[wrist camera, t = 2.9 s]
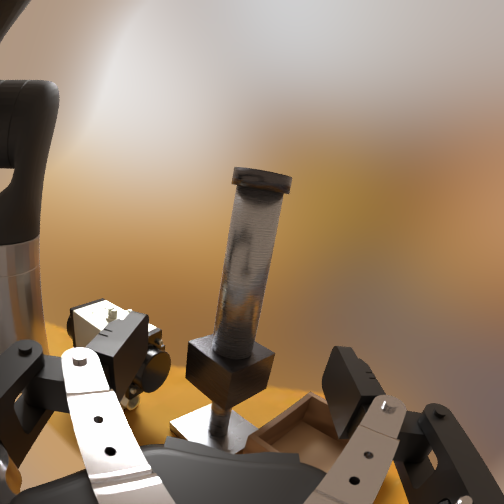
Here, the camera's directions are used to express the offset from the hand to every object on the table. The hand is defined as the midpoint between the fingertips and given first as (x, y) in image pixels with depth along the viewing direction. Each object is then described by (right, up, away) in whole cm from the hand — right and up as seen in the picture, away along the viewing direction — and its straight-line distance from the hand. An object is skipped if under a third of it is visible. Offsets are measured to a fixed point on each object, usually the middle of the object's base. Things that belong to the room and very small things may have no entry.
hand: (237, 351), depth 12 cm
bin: (+6, -18, +11) cm, 22 cm away
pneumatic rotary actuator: (-14, -13, +16) cm, 25 cm away
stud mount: (-3, -15, +14) cm, 21 cm away
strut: (-2, -8, +13) cm, 15 cm away
